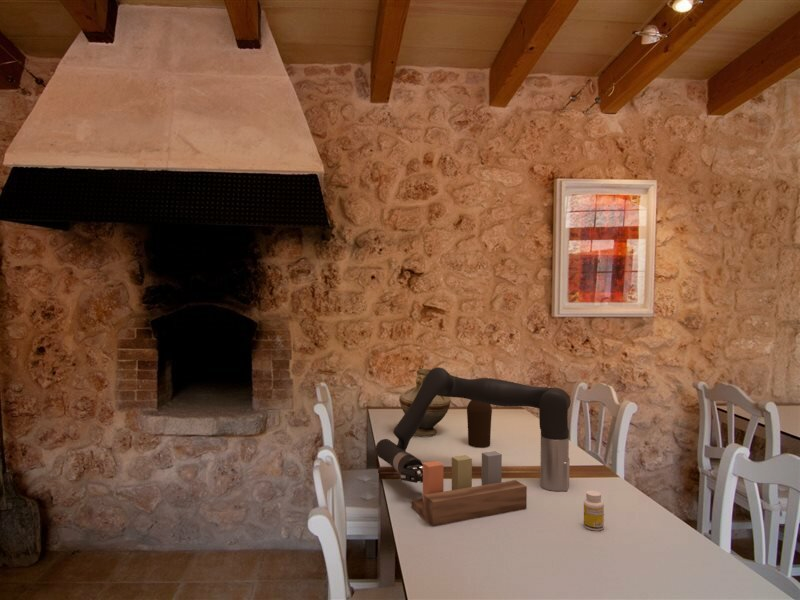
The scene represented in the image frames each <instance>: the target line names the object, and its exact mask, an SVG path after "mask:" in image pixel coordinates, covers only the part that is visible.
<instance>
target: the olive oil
mask: <svg viewBox="0 0 800 600" xmlns="http://www.w3.org/2000/svg"><path fill="white" fill-rule="evenodd" d="M492 413H493V409H492V405H491V404H486V403H482V402H477V401H473V400H470V401H469V402H468V403H467V407H466V418H467V419H466V420H467V445H468V446H469V447H472V448H476V449H477V448H479V449H480V448H482V449H483V448H488V447H490V446H491V433H492V432H491V431H492V415H493V414H492Z"/></svg>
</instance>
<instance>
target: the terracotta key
mask: <svg viewBox="0 0 800 600" xmlns="http://www.w3.org/2000/svg"><path fill="white" fill-rule="evenodd" d="M422 464H423V483H422V499H423V502H424V495H426V494H432V493H438V492H444V464H443V463H441V462H440V461H438V460H434V461H428V462H422Z"/></svg>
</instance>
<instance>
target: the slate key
mask: <svg viewBox="0 0 800 600" xmlns="http://www.w3.org/2000/svg"><path fill="white" fill-rule="evenodd" d="M502 455H503V454H501V453H499V452H498V451H496V450H494V451H485V452H481V485H488V484H494V483H500V482H503V481H502V480H503V479H502V476H503V474H502V473H503V472H502V470H503V467H502V463H503V462H502V458H503V457H502Z"/></svg>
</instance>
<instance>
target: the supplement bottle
mask: <svg viewBox="0 0 800 600" xmlns="http://www.w3.org/2000/svg"><path fill="white" fill-rule="evenodd" d="M585 495H586V496H585V497H586V498H585V499H584V500H583V526H584V528H585V529H588V530H590V531H603V530H604V528H605V507H604V506H605V504H604V501H603V500H602V493H601V492H600V491H597V490H587V491H586V494H585Z"/></svg>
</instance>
